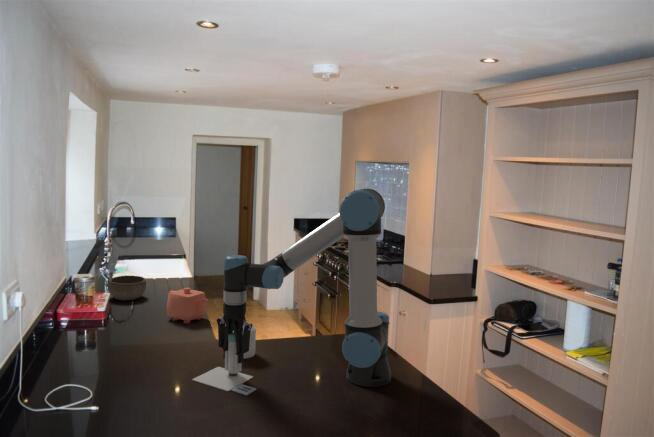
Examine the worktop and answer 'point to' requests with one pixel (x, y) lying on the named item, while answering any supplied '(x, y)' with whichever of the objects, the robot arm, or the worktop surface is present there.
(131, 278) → the bowl
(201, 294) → the teapot
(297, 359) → the worktop surface
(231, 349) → the marker
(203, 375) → the paper
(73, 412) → the worktop surface
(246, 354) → the mug
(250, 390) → the word card
